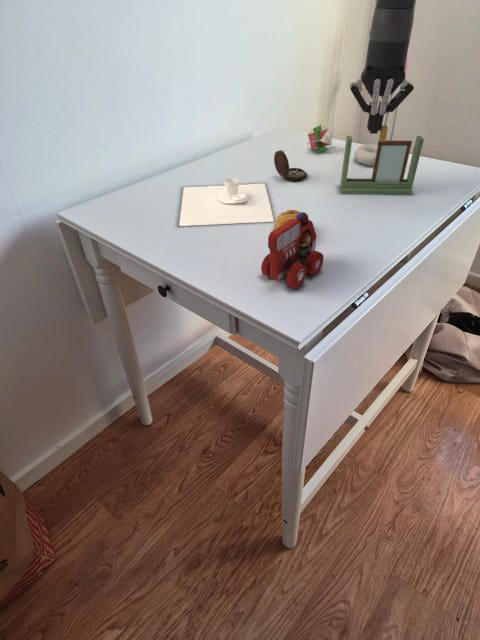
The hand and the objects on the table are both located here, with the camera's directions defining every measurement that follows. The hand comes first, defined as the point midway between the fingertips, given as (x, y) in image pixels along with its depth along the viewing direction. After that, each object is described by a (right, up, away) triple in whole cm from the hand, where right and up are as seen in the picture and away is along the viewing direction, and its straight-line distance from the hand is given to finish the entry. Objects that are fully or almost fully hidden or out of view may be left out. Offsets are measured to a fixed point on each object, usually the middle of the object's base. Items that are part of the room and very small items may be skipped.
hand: (373, 132), depth 91 cm
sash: (+5, -9, +7) cm, 13 cm away
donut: (+7, +2, +22) cm, 24 cm away
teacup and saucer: (-32, -14, +5) cm, 35 cm away
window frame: (+3, -10, +8) cm, 13 cm away
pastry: (-18, -24, -7) cm, 31 cm away
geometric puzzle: (-6, +8, +30) cm, 32 cm away
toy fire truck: (-20, -33, -17) cm, 42 cm away
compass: (-16, -4, +16) cm, 23 cm away
